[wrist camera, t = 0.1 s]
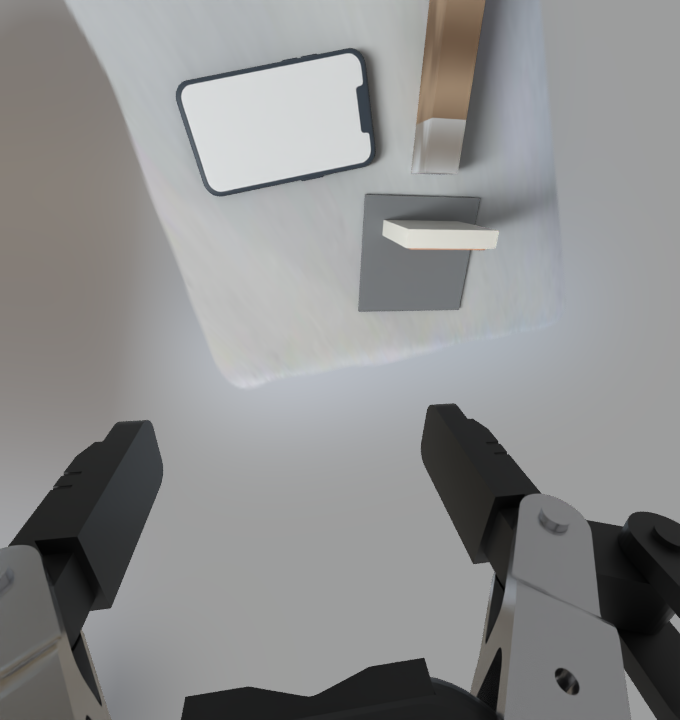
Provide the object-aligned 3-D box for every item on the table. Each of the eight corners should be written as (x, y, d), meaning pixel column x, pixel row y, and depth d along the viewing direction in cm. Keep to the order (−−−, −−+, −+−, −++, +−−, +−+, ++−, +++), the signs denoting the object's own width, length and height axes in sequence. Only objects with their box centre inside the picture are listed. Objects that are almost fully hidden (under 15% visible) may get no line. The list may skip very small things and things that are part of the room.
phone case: (212, 199, 33) (374, 166, 34) (208, 200, 32) (377, 165, 32) (174, 85, 29) (360, 49, 30) (169, 81, 28) (363, 42, 28)
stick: (432, -25, 28) (453, -55, 24) (467, -21, 28) (493, -49, 25) (411, 173, 34) (425, 172, 31) (439, 174, 35) (457, 173, 31)
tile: (383, 219, 35) (408, 229, 28) (457, 221, 37) (499, 230, 30) (382, 237, 36) (406, 250, 29) (454, 238, 37) (494, 251, 30)
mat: (364, 194, 35) (365, 194, 34) (478, 198, 36) (480, 198, 36) (358, 310, 40) (359, 311, 40) (457, 308, 42) (458, 309, 41)
